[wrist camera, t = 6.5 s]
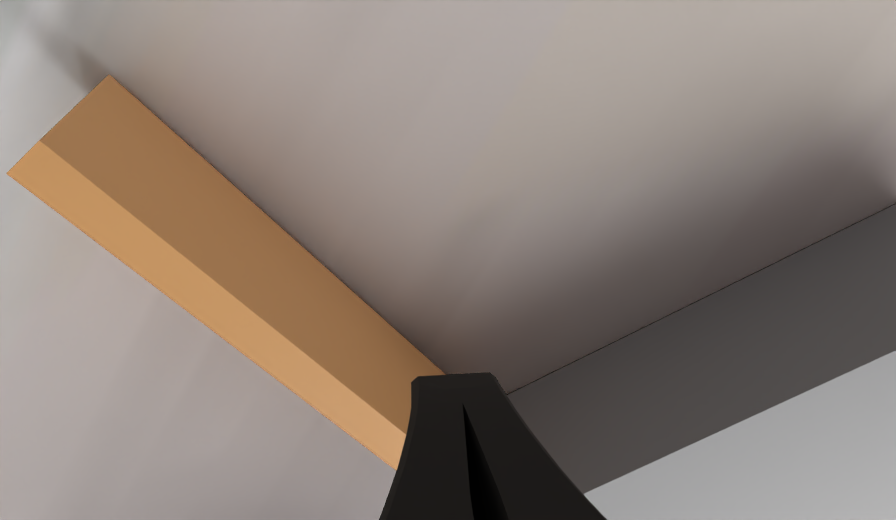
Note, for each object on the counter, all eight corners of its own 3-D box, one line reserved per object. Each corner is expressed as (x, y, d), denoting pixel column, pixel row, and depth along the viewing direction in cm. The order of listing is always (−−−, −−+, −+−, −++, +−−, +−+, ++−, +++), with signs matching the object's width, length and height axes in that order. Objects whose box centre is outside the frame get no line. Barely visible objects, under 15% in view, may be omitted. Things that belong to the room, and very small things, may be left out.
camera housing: (602, 594, 30) (649, 737, 26) (470, 413, 25) (498, 552, 20) (995, 424, 28) (1130, 546, 23) (951, 176, 22) (1118, 270, 17)
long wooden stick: (468, 394, 24) (490, 502, 20) (444, 411, 24) (462, 521, 20) (108, 74, 18) (39, 140, 14) (82, 100, 18) (6, 173, 14)
